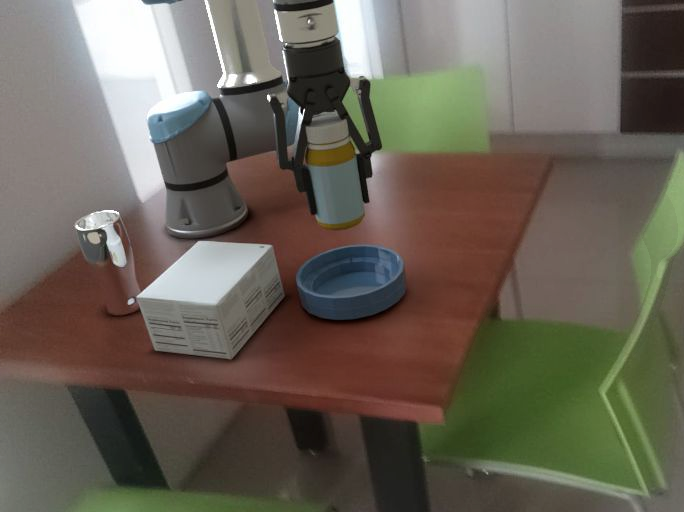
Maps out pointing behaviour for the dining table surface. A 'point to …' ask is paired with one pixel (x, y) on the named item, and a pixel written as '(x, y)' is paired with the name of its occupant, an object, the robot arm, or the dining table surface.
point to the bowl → (351, 282)
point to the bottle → (333, 173)
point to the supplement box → (212, 299)
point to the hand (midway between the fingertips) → (338, 205)
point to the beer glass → (110, 259)
